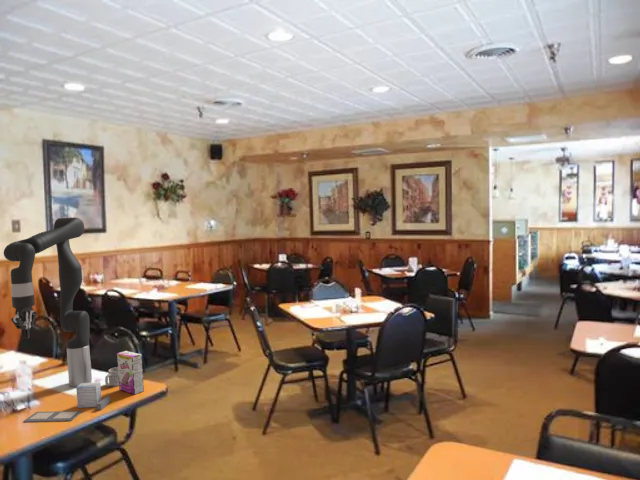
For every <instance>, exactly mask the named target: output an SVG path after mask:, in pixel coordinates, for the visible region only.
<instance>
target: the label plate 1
mask: <svg viewBox="0 0 640 480" xmlns="http://www.w3.org/2000/svg"><path fill="white" fill-rule="evenodd" d="M59 411H60V410H59ZM59 411H36V412H34V413H33V414H31V415H30V416H29V417H27V418H26V419H24V420H23V422H24V423H34V422H35V423H37V422H38V423H40V422H46V423H47V422H49V421H47V420H48V419H50V418H51V417H52V416H54V415H55V414H56V413H58V412H59Z"/></svg>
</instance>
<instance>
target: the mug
mask: <svg viewBox="0 0 640 480" xmlns="http://www.w3.org/2000/svg"><path fill="white" fill-rule="evenodd" d="M107 370H108V374H106V376H105V377H104V383H105V387H119V376H118V366H115V367H111V368H110V369H107Z"/></svg>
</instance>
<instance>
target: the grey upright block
mask: <svg viewBox="0 0 640 480" xmlns="http://www.w3.org/2000/svg"><path fill="white" fill-rule="evenodd" d="M101 386H102V385H101V382H91V383H81V384H80V385H79V386H77V387H75V389H76V401H77V408H78V409H81V408H97V403H99V402H100V401H101V400H102V399H103V398H102V387H101Z"/></svg>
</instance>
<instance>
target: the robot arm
mask: <svg viewBox="0 0 640 480" xmlns="http://www.w3.org/2000/svg"><path fill="white" fill-rule="evenodd" d="M84 232H85V224H84V222H83V220H82V219H80V218H79V217H59V218H57V219H56V220H54V224H53V229H49V230H46V231H42V232H39V233H37V234H34V235H32V236H30V237H28V238H25V239H20V240H17V241H13V242H10V243H9V244H7V245H6V247H4V249H3V257H4V258H5V259H6V260H7V261H10V262H19V266H18V267H15V268H12V269H11V271H10V282H11V283H10V284H11V286H10V293H11V294H10V295H11V306H12V308H14V309H15V312H14V314H15V316H14V317H12V318H11V319H10V320H11V322H12V323H13V325H14V326H15V328H16V329H17V330H21V337H22V338H21V339H22V340H28V339H29V338H30V337H31V333H30V331H31V330H30V329H31V327H32V326H34V323H35V320H36V318H37V314H38V312H37V311H34V308H33V307H34V306H35V305H36V304H35V303H36V302H35V301H36V300H35V288H34V284H33V273H32V271H33V268H34V263H35V258H36V254H39V253H41V252H44V251H45V250H47V249H49V248H51V247H54V246H55V247H56V251H57V252H56V253H57V262H58V280H59V287H60V289H59V290H60V291H59V292H60V308H59V309H60V311H59V313H60V316H59V321H60V322H59V323H60V328H61V330H62V331H64V332H67V333H68V332H69V333H71V332H75V333H76V335H75V337H73V338H70V339H68V340H67V341H66V343H65V346H66V347H65V348H66V358H67V360H66V362H67V374H68V386H69V387H73V388H76V387H77V386H79V385H80V384H81V383H93V382H92V380H93V379H92V378H93V377H92V376H93V375H92V362H91V353H90V352H91V351H90V337H91V336H90V331H91V330H90V328H91V327H90V323H91V322H90V316H89V313H88V312H87V311H86V310H74V307H73V304H74V299H75V297H76V294H77V293H78V291H79V290H80V287H81V286H82V283H83V270H82V269H83V268H82V265H81V263H80V262H79V260H78V258H77V257H76V256H75V255H74V253H73V251H72V249H71V245H70V240H72V239H76V238H80V237H82V236H83V234H84Z"/></svg>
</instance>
